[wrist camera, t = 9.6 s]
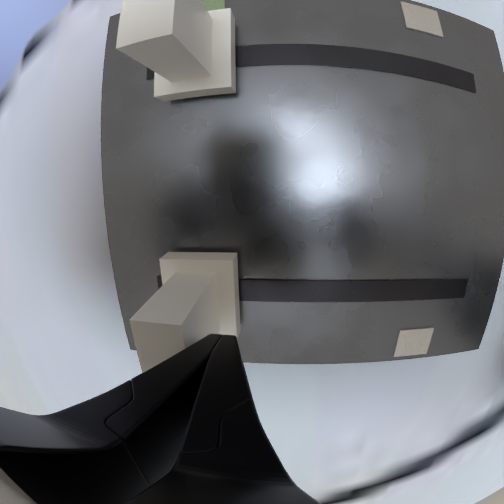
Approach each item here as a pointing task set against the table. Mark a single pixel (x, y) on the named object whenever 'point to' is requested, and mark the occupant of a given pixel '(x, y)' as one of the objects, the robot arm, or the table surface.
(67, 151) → the table surface
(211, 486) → the robot arm
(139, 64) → the board
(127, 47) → the block
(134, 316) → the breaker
